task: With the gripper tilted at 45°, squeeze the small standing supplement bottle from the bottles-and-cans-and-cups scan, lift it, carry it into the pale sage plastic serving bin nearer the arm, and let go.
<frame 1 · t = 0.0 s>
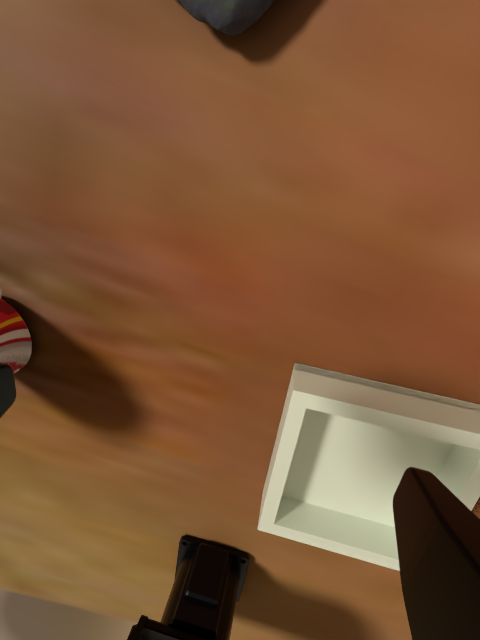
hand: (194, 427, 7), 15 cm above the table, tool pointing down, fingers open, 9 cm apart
serving bin: (358, 452, 24), on the table
soda can: (3, 329, 26), on the table
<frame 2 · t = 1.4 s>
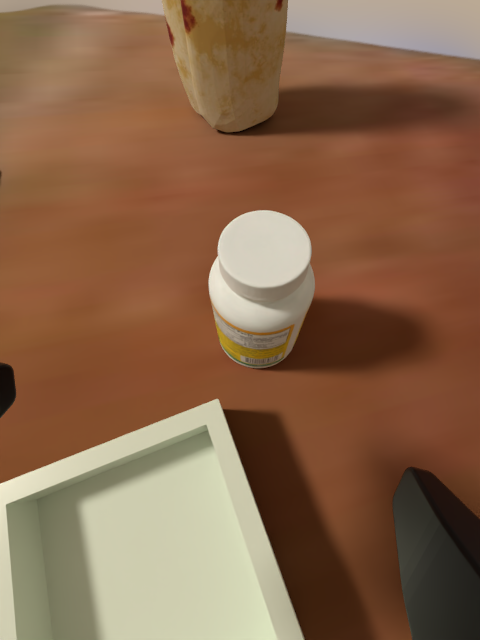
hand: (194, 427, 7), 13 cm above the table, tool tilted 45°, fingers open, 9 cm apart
food model: (228, 116, 32), on the table
serving bin: (154, 559, 17), on the table
supplement bottle: (257, 332, 23), on the table
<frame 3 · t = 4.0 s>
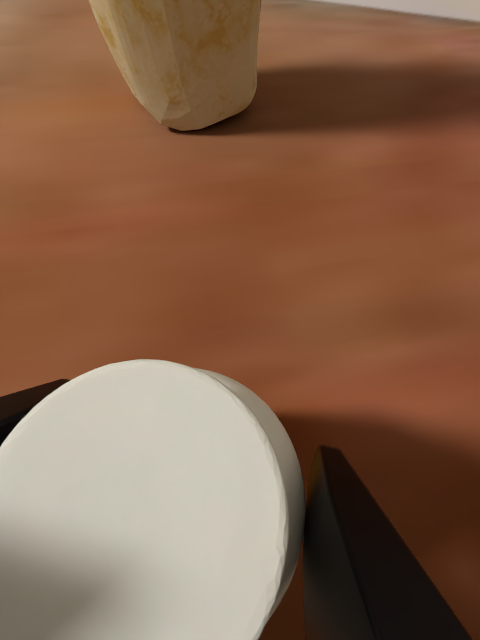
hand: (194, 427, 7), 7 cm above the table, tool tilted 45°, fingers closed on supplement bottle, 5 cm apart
food model: (186, 107, 22), on the table
supplement bottle: (209, 481, 13), on the table, touching gripper
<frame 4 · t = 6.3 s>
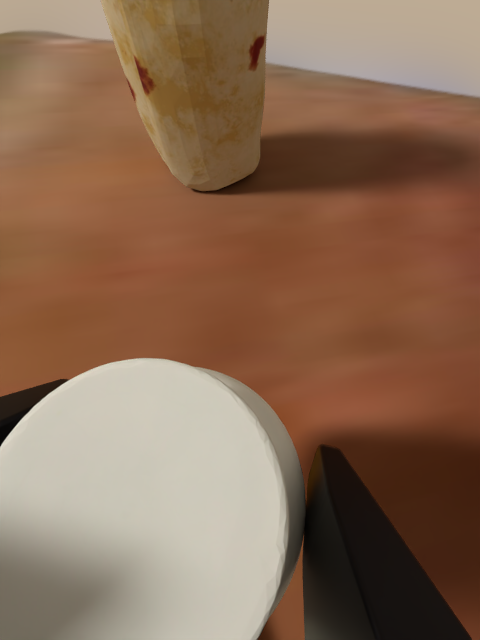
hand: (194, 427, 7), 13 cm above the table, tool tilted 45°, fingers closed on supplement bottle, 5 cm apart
food model: (204, 169, 28), on the table
supplement bottle: (209, 480, 13), point 6 cm above the table, touching gripper
when the fingers open (9 cm above the table, at t = 8.7 s): supplement bottle drops 1 cm, resting on serving bin.
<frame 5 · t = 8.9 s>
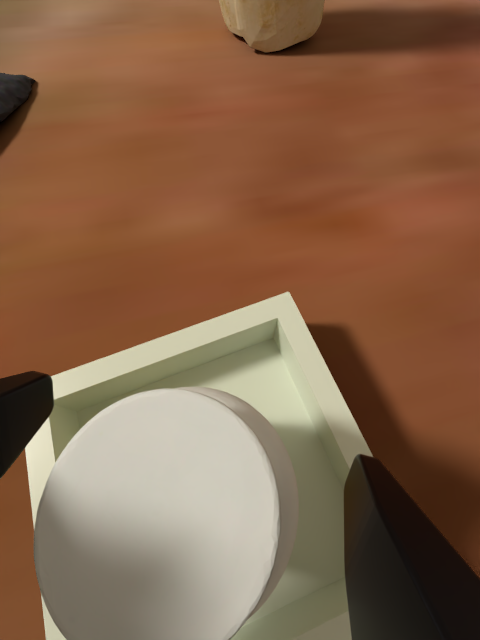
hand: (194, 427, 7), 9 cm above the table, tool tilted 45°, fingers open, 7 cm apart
food model: (265, 38, 29), on the table
serving bin: (214, 478, 15), on the table
supplement bottle: (215, 483, 14), point 1 cm above the table, touching serving bin
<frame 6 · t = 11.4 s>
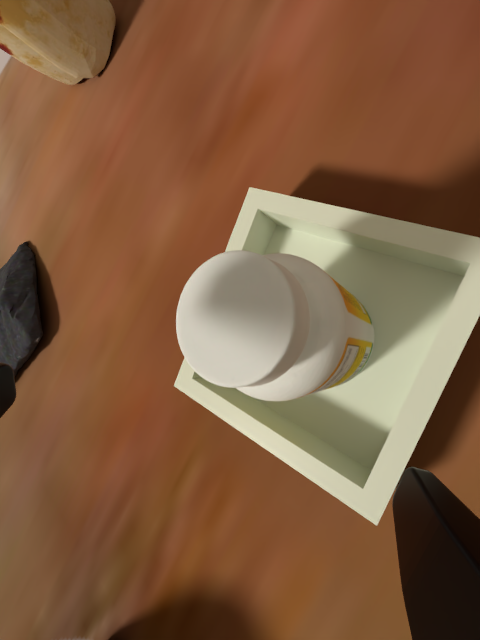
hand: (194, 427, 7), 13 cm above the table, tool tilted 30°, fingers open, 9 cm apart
food model: (95, 60, 33), on the table
serving bin: (324, 335, 19), on the table
dark slate chunk: (1, 341, 38), on the table
supplement bottle: (323, 335, 18), point 1 cm above the table, touching serving bin
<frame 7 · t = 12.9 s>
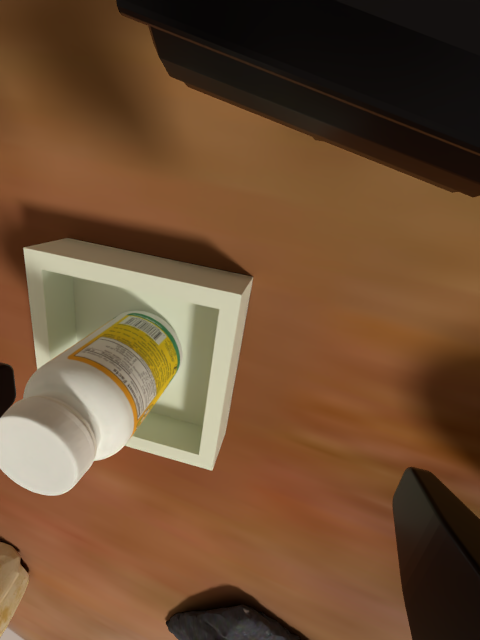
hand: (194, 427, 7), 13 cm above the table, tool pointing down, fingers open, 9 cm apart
food model: (9, 554, 37), on the table
serving bin: (152, 342, 22), on the table
supplement bottle: (146, 345, 22), point 1 cm above the table, touching serving bin
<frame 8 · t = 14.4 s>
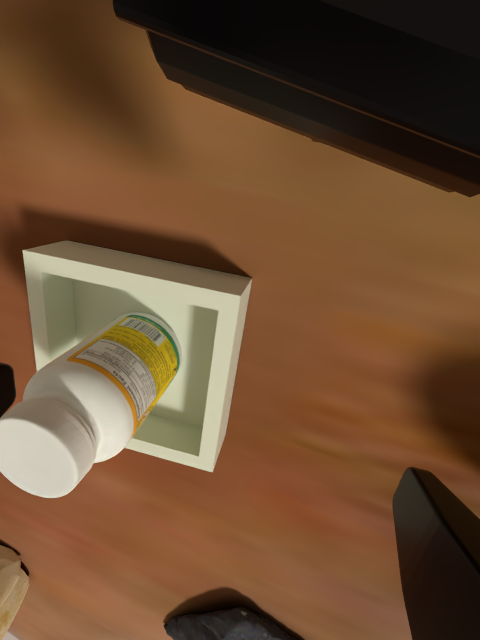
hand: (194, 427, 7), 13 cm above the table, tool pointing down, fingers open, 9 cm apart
food model: (9, 558, 37), on the table
serving bin: (152, 344, 22), on the table
supplement bottle: (146, 347, 22), point 1 cm above the table, touching serving bin
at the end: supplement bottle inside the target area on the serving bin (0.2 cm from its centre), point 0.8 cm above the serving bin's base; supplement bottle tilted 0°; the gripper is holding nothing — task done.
